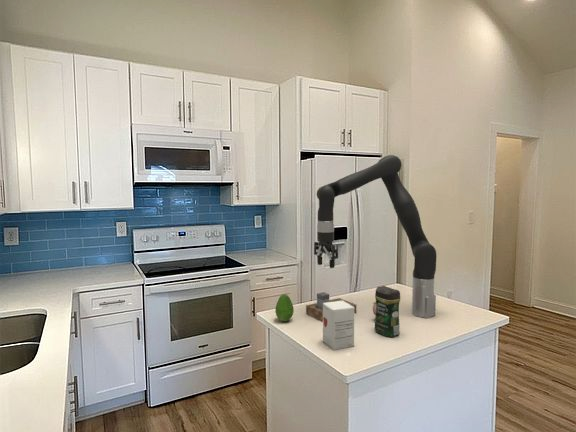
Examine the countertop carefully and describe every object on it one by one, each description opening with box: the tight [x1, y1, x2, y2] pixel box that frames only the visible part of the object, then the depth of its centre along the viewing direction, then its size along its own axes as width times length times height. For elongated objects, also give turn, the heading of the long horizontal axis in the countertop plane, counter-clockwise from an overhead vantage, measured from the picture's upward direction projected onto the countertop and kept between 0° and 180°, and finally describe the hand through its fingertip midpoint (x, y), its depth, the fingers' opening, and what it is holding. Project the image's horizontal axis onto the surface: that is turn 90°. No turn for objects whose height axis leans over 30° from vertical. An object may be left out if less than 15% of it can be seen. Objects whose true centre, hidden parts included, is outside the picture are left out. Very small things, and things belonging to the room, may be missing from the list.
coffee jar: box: [374, 285, 401, 338], centre depth 150 cm, size 10×8×19 cm
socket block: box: [305, 298, 357, 323], centre depth 173 cm, size 12×20×4 cm, turn 123°
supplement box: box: [322, 299, 355, 351], centre depth 140 cm, size 9×9×15 cm
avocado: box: [274, 293, 295, 322], centre depth 164 cm, size 8×8×12 cm
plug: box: [316, 292, 330, 310], centre depth 171 cm, size 4×4×10 cm
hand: (325, 266), depth 170 cm, fingers open, 8 cm apart
